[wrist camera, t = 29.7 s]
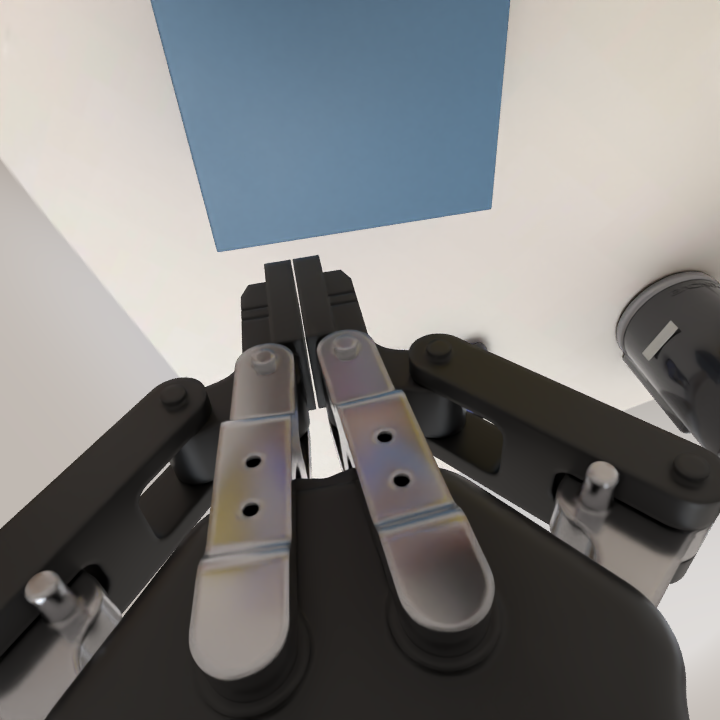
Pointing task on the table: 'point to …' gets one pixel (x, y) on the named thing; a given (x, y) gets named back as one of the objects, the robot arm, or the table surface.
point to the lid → (336, 110)
